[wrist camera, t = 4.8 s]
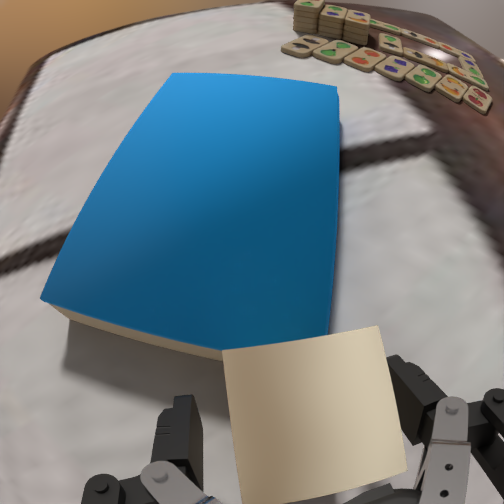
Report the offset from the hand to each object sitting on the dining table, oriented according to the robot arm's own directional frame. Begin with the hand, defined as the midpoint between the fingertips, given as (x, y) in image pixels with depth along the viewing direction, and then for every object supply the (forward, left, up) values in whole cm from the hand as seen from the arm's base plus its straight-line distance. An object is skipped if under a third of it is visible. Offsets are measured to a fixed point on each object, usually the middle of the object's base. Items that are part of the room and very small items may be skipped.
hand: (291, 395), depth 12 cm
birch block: (0, +1, -5) cm, 5 cm away
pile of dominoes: (-37, -38, -6) cm, 53 cm away
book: (-1, -16, -6) cm, 17 cm away
